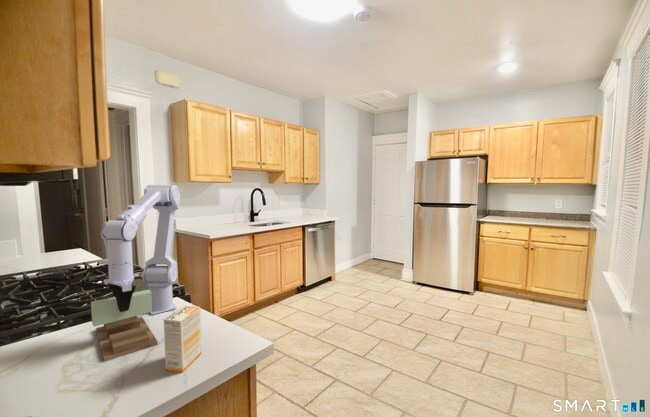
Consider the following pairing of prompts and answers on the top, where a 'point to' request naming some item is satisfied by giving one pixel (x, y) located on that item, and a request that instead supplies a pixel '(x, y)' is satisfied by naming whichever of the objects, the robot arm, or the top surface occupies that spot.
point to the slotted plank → (107, 346)
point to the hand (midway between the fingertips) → (122, 308)
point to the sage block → (109, 311)
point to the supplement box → (182, 338)
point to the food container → (139, 282)
